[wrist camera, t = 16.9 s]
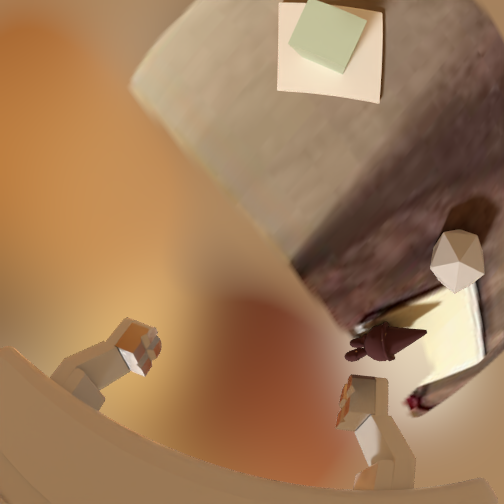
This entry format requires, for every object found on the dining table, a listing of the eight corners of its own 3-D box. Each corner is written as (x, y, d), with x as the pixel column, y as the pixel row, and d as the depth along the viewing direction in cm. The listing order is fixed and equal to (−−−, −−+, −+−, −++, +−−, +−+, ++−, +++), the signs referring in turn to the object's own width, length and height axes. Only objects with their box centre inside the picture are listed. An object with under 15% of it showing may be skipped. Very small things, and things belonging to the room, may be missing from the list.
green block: (358, 40, 22) (367, 20, 15) (342, 74, 26) (345, 67, 18) (317, 23, 23) (309, -3, 15) (302, 57, 26) (287, 43, 18)
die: (425, 217, 33) (417, 282, 30) (480, 210, 26) (478, 282, 23) (442, 244, 37) (434, 301, 34) (489, 240, 30) (485, 303, 27)
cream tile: (380, 15, 20) (382, 12, 19) (377, 103, 27) (379, 103, 26) (280, 5, 23) (278, 2, 22) (279, 90, 30) (277, 90, 29)
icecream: (423, 326, 34) (335, 346, 43) (430, 361, 35) (349, 377, 44) (422, 302, 40) (345, 323, 49) (430, 335, 41) (357, 352, 50)
